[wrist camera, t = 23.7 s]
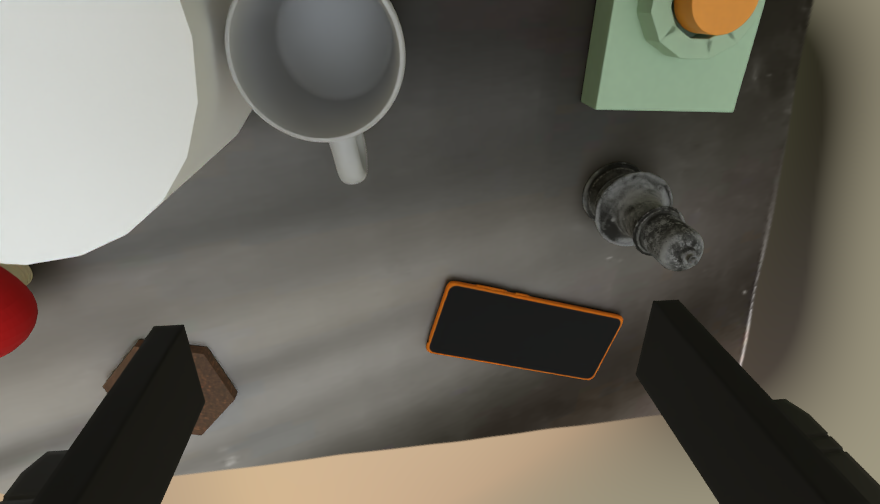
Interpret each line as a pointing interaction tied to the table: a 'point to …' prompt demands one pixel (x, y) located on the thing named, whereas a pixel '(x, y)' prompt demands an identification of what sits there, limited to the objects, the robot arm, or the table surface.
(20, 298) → the red mushroom
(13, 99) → the container
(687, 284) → the table surface
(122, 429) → the robot arm
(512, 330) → the smartphone
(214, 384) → the robot figurine
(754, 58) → the table surface
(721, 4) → the orange push button
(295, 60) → the mug
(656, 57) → the green button housing
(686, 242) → the salt shaker
